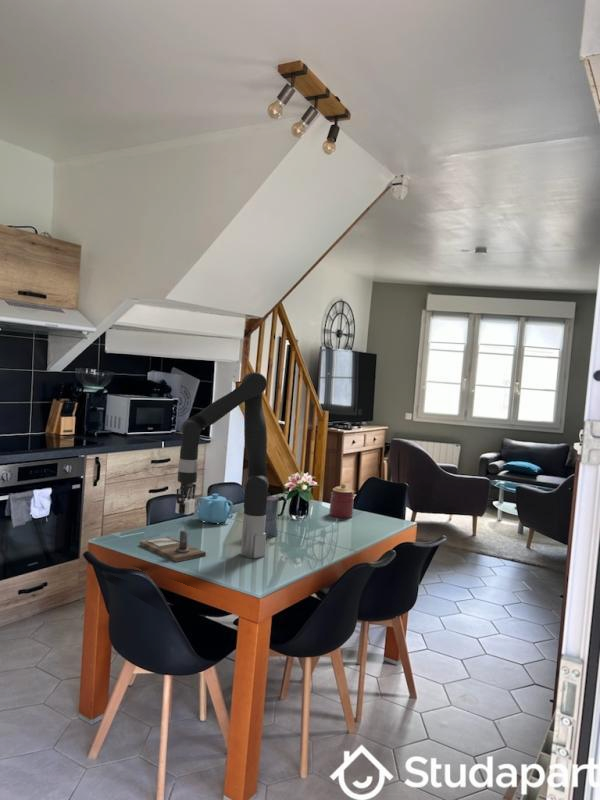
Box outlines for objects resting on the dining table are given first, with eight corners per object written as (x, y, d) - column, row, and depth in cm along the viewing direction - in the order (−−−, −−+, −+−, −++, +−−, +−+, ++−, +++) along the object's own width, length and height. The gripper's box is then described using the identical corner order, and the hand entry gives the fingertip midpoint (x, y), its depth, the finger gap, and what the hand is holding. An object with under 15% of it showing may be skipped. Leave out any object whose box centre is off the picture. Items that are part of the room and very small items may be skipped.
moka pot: (249, 532, 284) (252, 490, 283) (279, 531, 291) (282, 489, 290) (257, 538, 275) (260, 495, 274) (287, 536, 282) (291, 494, 281)
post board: (205, 555, 245) (207, 532, 244) (176, 562, 234) (178, 537, 234) (168, 539, 262) (169, 518, 262) (139, 545, 252) (141, 522, 252)
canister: (356, 518, 329) (358, 486, 328) (333, 518, 325) (336, 485, 324) (347, 512, 341) (350, 481, 340) (326, 512, 338) (328, 481, 337)
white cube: (188, 514, 240) (189, 502, 239) (175, 512, 241) (176, 500, 241) (194, 511, 245) (194, 499, 245) (181, 509, 246) (182, 497, 246)
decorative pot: (193, 517, 304) (194, 490, 303) (223, 516, 310) (225, 490, 310) (201, 526, 289) (203, 498, 288) (234, 524, 296) (236, 497, 295)
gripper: (189, 473, 234) (186, 517, 235) (203, 468, 248) (200, 509, 249) (171, 471, 236) (168, 514, 237) (186, 466, 250) (183, 507, 251)
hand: (184, 511), depth 243 cm, fingers closed on white cube, 5 cm apart
